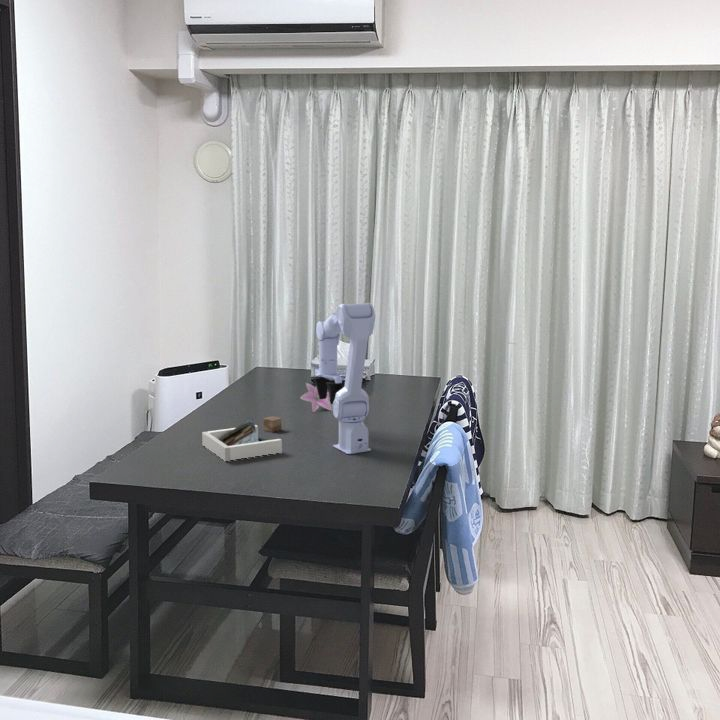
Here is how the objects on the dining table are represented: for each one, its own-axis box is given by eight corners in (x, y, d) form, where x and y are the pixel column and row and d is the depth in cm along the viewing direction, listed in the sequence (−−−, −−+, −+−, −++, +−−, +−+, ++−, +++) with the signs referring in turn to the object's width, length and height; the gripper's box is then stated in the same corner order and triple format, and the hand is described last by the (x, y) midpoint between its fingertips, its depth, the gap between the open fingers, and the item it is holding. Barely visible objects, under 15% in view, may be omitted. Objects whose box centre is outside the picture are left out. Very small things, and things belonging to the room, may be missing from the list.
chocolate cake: (224, 452, 249) (253, 424, 250) (216, 440, 255) (244, 412, 255) (244, 468, 256) (272, 440, 256) (235, 455, 261) (263, 428, 261)
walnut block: (281, 430, 272) (281, 418, 272) (272, 432, 269) (272, 420, 268) (272, 428, 275) (272, 416, 274) (263, 430, 272) (263, 418, 271)
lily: (294, 413, 297) (301, 393, 292) (300, 394, 307) (307, 374, 302) (327, 424, 298) (334, 403, 293) (331, 404, 308) (339, 384, 302)
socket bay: (281, 453, 247) (281, 439, 246) (225, 461, 239) (225, 448, 238) (256, 437, 263) (256, 425, 263) (202, 445, 255) (202, 432, 254)
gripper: (306, 356, 271) (306, 397, 273) (327, 364, 258) (327, 407, 261) (326, 354, 274) (326, 395, 277) (347, 362, 262) (347, 404, 264)
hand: (328, 401), depth 269 cm, fingers open, 7 cm apart
